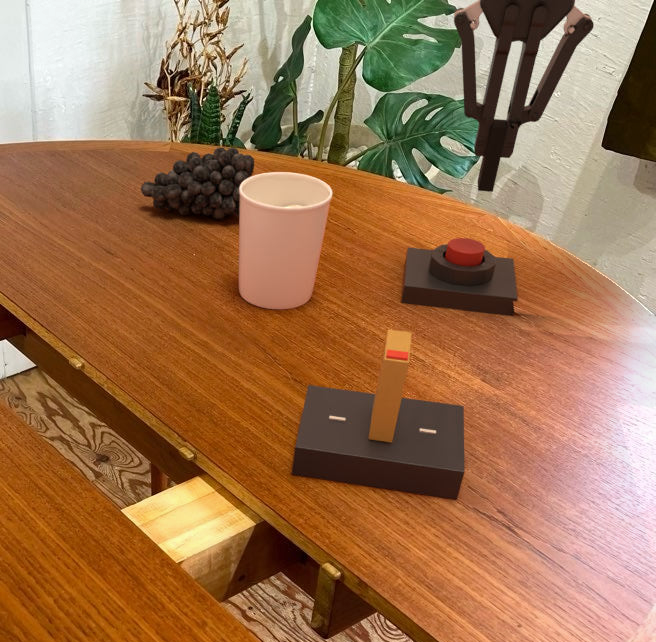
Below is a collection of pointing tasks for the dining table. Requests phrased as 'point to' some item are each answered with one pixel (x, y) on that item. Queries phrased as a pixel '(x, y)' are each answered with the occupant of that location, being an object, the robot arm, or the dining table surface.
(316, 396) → the dark lever base block
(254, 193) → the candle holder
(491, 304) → the bell block
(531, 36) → the robot arm
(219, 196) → the fruit
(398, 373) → the tan upright plank
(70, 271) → the dining table surface
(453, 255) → the bell button
